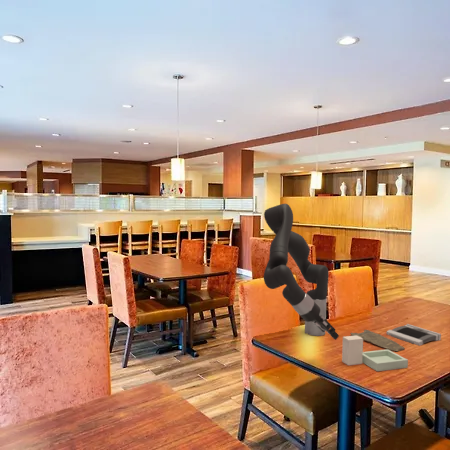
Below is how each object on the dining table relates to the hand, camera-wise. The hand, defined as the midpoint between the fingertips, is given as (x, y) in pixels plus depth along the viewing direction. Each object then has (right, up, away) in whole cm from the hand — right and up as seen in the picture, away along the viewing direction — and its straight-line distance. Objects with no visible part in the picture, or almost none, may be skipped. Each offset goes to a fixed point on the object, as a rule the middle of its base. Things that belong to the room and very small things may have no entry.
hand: (330, 333), depth 153 cm
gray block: (+9, -12, +3) cm, 16 cm away
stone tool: (+29, -12, +27) cm, 42 cm away
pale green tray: (+21, -12, +3) cm, 24 cm away
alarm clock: (+48, -12, +35) cm, 60 cm away
